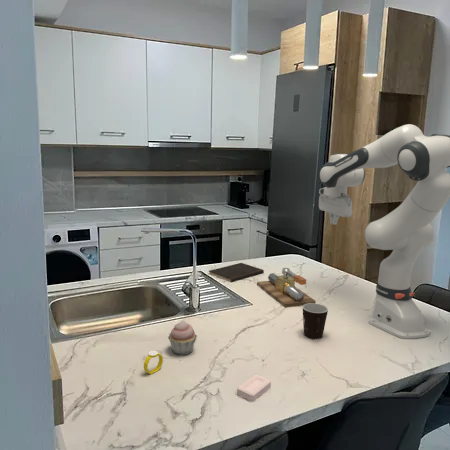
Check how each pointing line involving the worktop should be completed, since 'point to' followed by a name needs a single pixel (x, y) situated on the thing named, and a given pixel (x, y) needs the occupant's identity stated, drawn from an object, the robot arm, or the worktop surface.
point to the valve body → (286, 286)
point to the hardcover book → (236, 272)
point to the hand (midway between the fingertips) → (333, 223)
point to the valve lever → (294, 276)
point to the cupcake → (182, 338)
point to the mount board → (283, 295)
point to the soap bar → (253, 387)
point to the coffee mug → (314, 320)
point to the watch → (150, 355)
